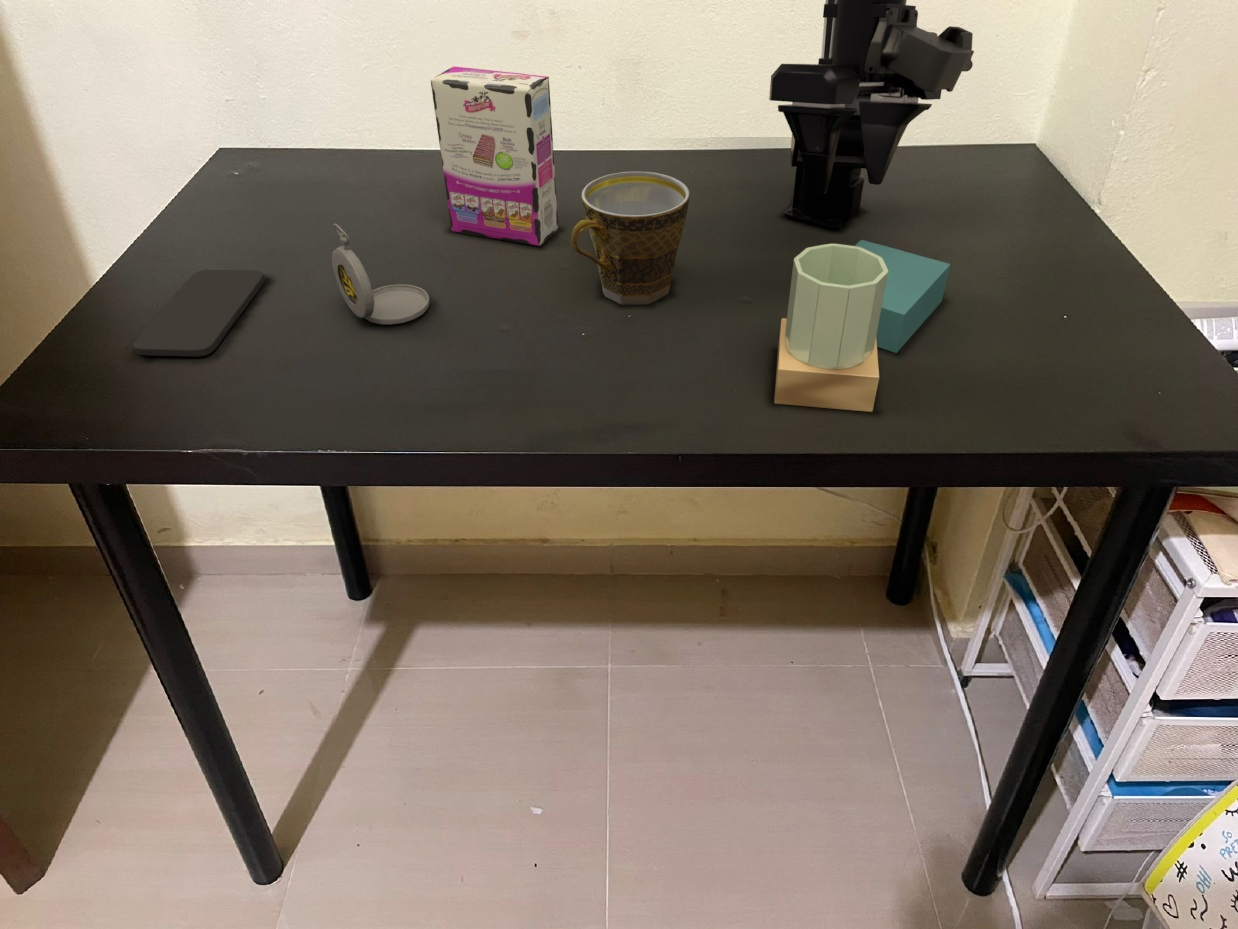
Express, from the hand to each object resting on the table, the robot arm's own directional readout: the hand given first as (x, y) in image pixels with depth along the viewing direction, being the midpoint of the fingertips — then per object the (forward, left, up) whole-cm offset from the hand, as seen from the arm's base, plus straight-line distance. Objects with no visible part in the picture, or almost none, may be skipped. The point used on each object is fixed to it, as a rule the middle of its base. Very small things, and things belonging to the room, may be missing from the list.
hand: (848, 188), depth 83 cm
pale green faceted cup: (+5, -12, -8) cm, 16 cm away
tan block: (+5, -12, -11) cm, 18 cm away
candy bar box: (-36, -6, -12) cm, 39 cm away
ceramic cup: (-17, -10, -12) cm, 23 cm away
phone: (-48, -36, -12) cm, 61 cm away
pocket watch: (-34, -26, -12) cm, 45 cm away
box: (+4, +1, -11) cm, 12 cm away
